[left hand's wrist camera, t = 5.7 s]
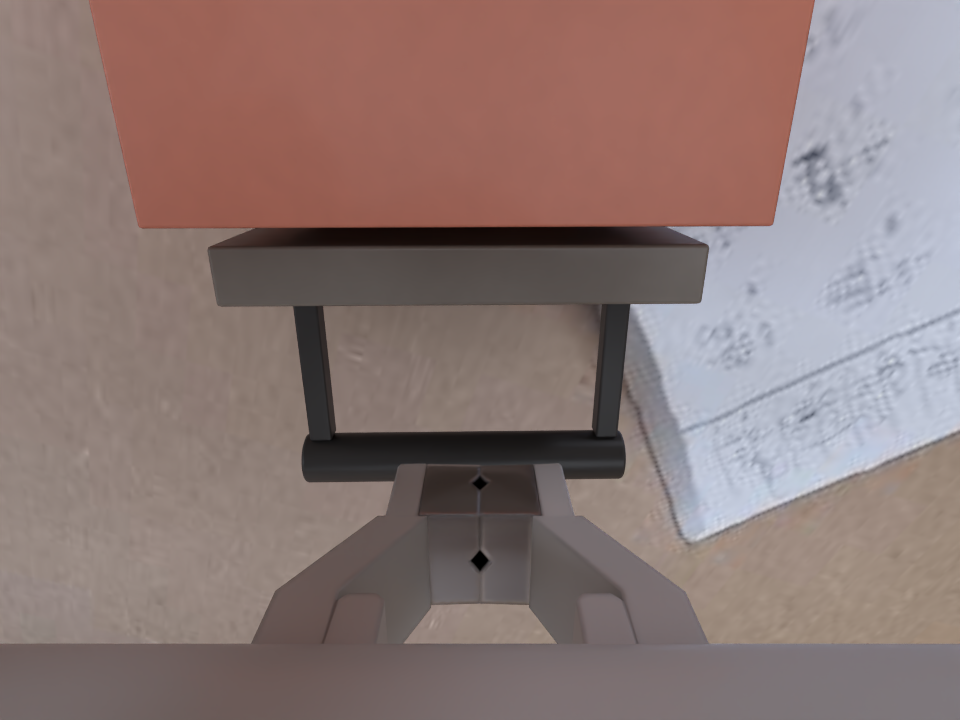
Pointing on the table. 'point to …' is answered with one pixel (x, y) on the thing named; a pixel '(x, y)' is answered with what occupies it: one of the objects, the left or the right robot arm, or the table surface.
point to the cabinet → (453, 111)
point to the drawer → (458, 281)
